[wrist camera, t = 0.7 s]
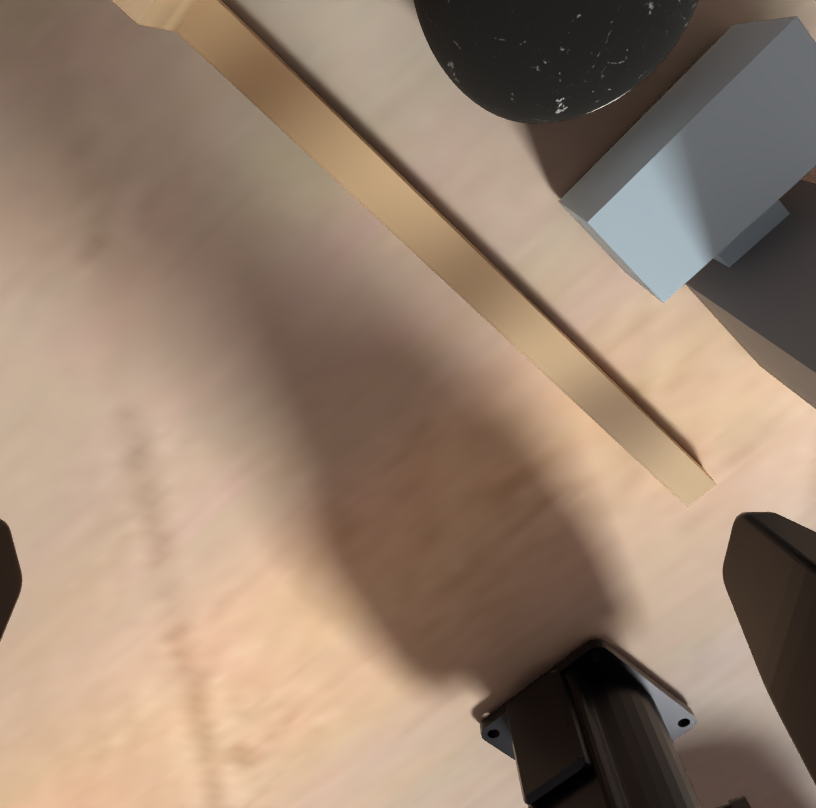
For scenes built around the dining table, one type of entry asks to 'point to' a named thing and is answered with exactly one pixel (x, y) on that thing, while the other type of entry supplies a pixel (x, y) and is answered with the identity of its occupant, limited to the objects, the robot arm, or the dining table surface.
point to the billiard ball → (550, 50)
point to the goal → (157, 12)
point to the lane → (434, 239)
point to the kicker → (724, 194)
